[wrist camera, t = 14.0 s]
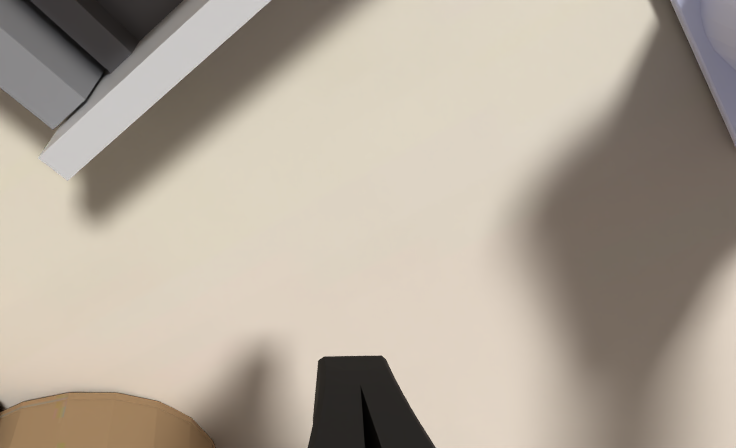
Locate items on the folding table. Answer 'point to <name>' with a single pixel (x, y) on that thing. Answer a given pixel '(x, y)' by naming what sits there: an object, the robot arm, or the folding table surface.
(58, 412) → the alarm clock
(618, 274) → the folding table surface
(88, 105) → the tray
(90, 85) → the frame
